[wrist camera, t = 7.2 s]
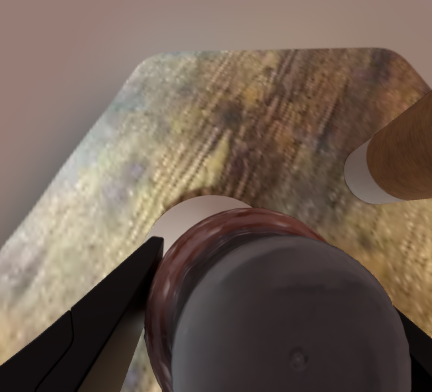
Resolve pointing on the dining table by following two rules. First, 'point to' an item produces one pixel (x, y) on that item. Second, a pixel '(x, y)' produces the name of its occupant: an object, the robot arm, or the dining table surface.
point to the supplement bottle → (270, 312)
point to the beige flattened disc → (190, 216)
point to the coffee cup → (395, 159)
